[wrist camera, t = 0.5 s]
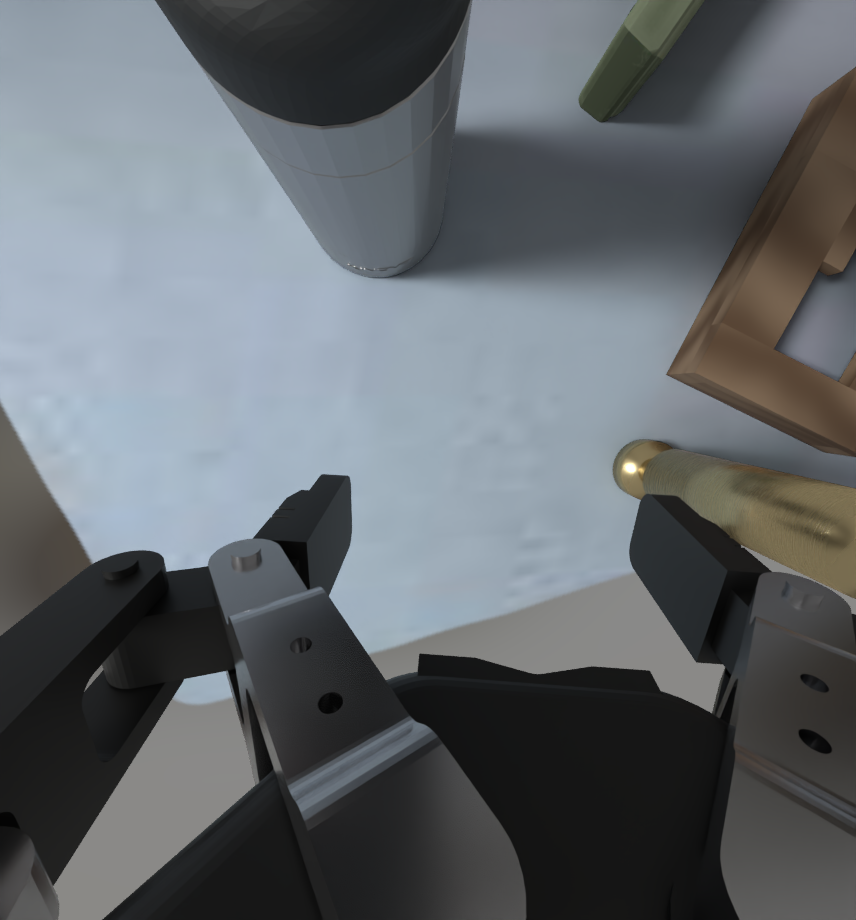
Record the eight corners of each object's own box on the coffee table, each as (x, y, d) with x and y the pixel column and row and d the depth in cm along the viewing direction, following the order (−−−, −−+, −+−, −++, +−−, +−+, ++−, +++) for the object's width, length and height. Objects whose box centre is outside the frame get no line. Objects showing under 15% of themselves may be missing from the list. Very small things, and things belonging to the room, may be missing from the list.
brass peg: (612, 442, 32) (822, 497, 15) (669, 436, 32) (943, 485, 15) (613, 498, 33) (816, 610, 16) (670, 493, 33) (932, 599, 16)
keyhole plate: (824, 452, 33) (869, 458, 29) (666, 374, 31) (694, 372, 28) (979, 194, 30) (1047, 170, 27) (812, 99, 29) (862, 61, 25)
